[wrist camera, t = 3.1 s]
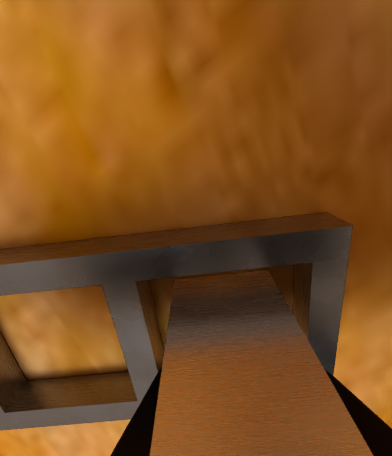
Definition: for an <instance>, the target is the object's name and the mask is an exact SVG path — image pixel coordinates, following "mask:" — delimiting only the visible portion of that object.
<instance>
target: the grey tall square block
mask: <svg viewBox="0 0 392 456" xmlns="http://www.w3.org/2000/svg"><path fill="white" fill-rule="evenodd" d="M150 456H373V454H372V452H371V451H370V449H369V447H368V445H367V444H366V442H365V440H364V438H363V437H362V435H361V433H360V431H359V430H358V428H357V426H356V424H355V423H354V421H353V419H352V417H351V415H350V414H349V412H348V410H347V408H346V407H345V405H344V403H343V401H342V400H341V398H340V396H339V394H338V393H337V391H336V389H335V387H334V386H333V384H332V382H331V380H330V378H329V377H328V375H327V373H326V371H325V370H324V368H323V366H322V364H321V363H320V361H319V359H318V357H317V356H316V354H315V352H314V350H313V349H312V347H311V345H310V343H309V341H308V340H307V338H306V336H305V334H304V333H303V331H302V329H301V327H300V326H299V324H298V322H297V320H296V319H295V317H294V315H293V313H292V312H291V310H290V308H289V306H288V304H287V303H286V301H285V299H284V297H283V296H282V294H281V292H280V290H279V289H278V287H277V285H276V283H275V282H274V280H273V278H272V276H271V275H270V273H269V271H268V270H263V271H253V272H244V273H235V274H225V275H216V276H206V277H197V278H187V279H178V280H174V286H173V293H172V300H171V307H170V314H169V322H168V329H167V336H166V343H165V350H164V357H163V364H162V372H161V379H160V386H159V393H158V400H157V407H156V414H155V422H154V429H153V436H152V443H151V450H150Z"/></svg>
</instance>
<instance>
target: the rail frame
mask: <svg viewBox="0 0 392 456" xmlns="http://www.w3.org/2000/svg"><path fill="white" fill-rule="evenodd" d="M352 227H353V226H352V225H350V224H349V223H347V222H345V221H343V220H341V219H339V218H337V217H336V216H334V215H332V214H330V213H328V212H325V213H317V214H308V215H299V216H290V217H281V218H273V219H264V220H255V221H246V222H237V223H229V224H220V225H211V226H202V227H193V228H185V229H176V230H167V231H158V232H149V233H141V234H132V235H123V236H114V237H105V238H97V239H88V240H79V241H70V242H61V243H53V244H44V245H35V246H26V247H17V248H9V249H0V296H2V295H11V294H20V293H30V292H39V291H49V290H58V289H67V288H77V287H86V286H95V285H102V287H103V290H104V294H105V297H106V300H107V303H108V306H109V310H110V313H111V316H112V319H113V323H114V326H115V329H116V332H117V335H118V339H119V342H120V345H121V348H122V352H123V355H124V358H125V361H126V364H127V368H128V371H129V372H119V373H108V374H97V375H86V376H76V377H65V378H54V379H44V380H33V381H26V379H25V377H24V375H23V374H22V372H21V370H20V368H19V366H18V364H17V362H16V361H15V359H14V357H13V355H12V353H11V351H10V349H9V348H8V346H7V344H6V342H5V340H4V338H3V337H2V335H1V333H0V430H12V429H23V428H35V427H46V426H58V425H70V424H81V423H93V422H104V421H116V420H128V419H131V418H132V417H133V415H134V413H135V411H136V410H137V408H138V406H139V404H140V403H141V401H142V399H143V397H144V396H145V394H146V392H147V390H148V388H149V387H150V385H151V383H152V381H153V380H154V378H155V376H156V374H157V373H158V371H159V369H160V367H161V366H162V364H163V357H164V349H163V344H162V340H161V335H160V331H159V326H158V322H157V317H156V313H155V308H154V304H153V300H152V295H151V291H150V286H149V282H148V280H152V279H161V278H170V277H180V276H189V275H199V274H208V273H217V272H227V271H236V270H245V269H255V268H264V267H274V266H283V265H292V264H294V288H293V315H294V317H295V319H296V320H297V322H298V324H299V326H300V327H301V329H302V331H303V333H304V334H305V336H306V338H307V340H308V341H309V343H310V345H311V347H312V349H313V350H314V352H315V354H316V356H317V357H318V359H319V361H320V363H321V364H322V366H323V367H324V368H325V369H326V370H327V371H328V372H330V373H331V374H332V375H333V373H334V365H335V358H336V350H337V342H338V335H339V327H340V319H341V312H342V304H343V296H344V289H345V281H346V273H347V266H348V258H349V250H350V243H351V235H352Z"/></svg>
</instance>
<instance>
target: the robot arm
mask: <svg viewBox="0 0 392 456" xmlns="http://www.w3.org/2000/svg"><path fill="white" fill-rule="evenodd" d="M323 368H324V367H323ZM324 370H325V371H326V373H327V375H328V377H329V378H330V380H331V382H332V384H333V386H334V387H335V389H336V391H337V393H338V394H339V396H340V398H341V400H342V401H343V403H344V405H345V407H346V408H347V410H348V412H349V414H350V415H351V417H352V419H353V421H354V423H355V424H356V426H357V428H358V430H359V431H360V433H361V435H362V437H363V438H364V440H365V442H366V444H367V445H368V447H369V449H370V451H371V452H372V454H373V456H392V429H391V428H390V427H389V426H388V425H387V424H386V423H385V422H384V421H383V420H382V419H380V418H379V417H378V416H377V415H376V414H375V413H374V412H373V411H372V410H370V409H369V408H368V407H367V406H366V405H365V404H364V403H363V402H362V401H361V400H359V399H358V398H357V397H356V396H355V395H354V394H353V393H352V392H351V391H349V390H348V389H347V388H346V387H345V386H344V385H343V384H342V383H341V382H339V381H338V380H337V379H336V378H335V377H334V376H333V375H332V374H331V373H330V372H328V371H327V370H326V369H325V368H324ZM161 372H162V366H161V367H160V369H159V371H158V373H157V374H156V376H155V378H154V380H153V381H152V383H151V385H150V387H149V388H148V390H147V392H146V394H145V396H144V397H143V399H142V401H141V403H140V404H139V406H138V408H137V410H136V411H135V413H134V415H133V417H132V418H131V420H130V422H129V424H128V425H127V427H126V429H125V431H124V433H123V434H122V436H121V438H120V440H119V441H118V443H117V445H116V447H115V448H114V450H113V452H112V454H111V455H110V456H150V450H151V443H152V436H153V429H154V422H155V414H156V407H157V400H158V393H159V386H160V379H161Z"/></svg>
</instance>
